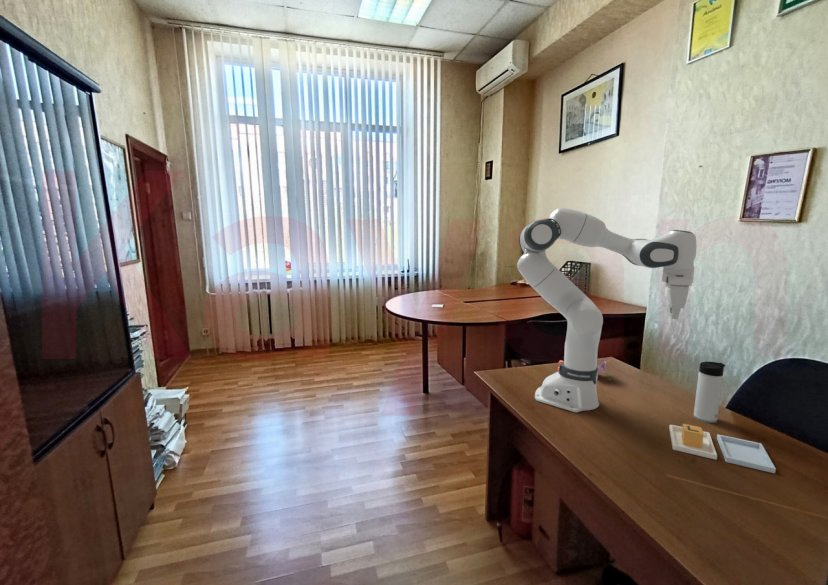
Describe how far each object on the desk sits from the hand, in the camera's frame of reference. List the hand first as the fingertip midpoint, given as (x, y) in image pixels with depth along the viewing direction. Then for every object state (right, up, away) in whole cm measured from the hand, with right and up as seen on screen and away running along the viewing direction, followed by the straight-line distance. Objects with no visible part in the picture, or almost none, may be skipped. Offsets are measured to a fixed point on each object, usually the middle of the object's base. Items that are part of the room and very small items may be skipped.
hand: (673, 315), depth 130 cm
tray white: (-9, -37, -20) cm, 43 cm away
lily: (-11, -29, +29) cm, 43 cm away
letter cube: (-9, -37, -20) cm, 43 cm away
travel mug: (+6, -35, -6) cm, 36 cm away
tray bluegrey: (+1, -38, -26) cm, 46 cm away
